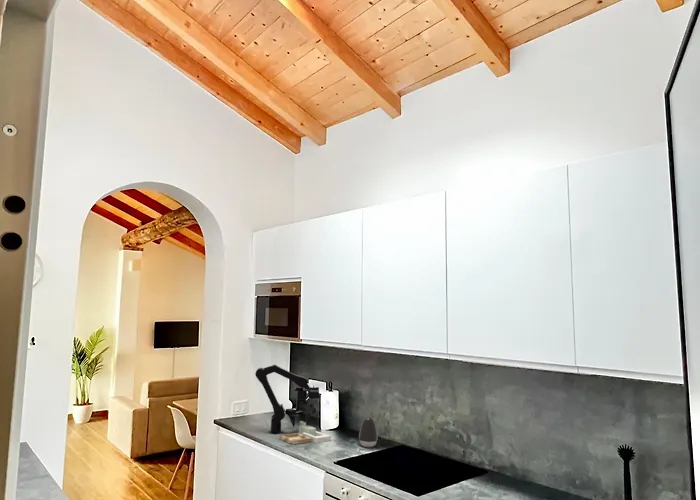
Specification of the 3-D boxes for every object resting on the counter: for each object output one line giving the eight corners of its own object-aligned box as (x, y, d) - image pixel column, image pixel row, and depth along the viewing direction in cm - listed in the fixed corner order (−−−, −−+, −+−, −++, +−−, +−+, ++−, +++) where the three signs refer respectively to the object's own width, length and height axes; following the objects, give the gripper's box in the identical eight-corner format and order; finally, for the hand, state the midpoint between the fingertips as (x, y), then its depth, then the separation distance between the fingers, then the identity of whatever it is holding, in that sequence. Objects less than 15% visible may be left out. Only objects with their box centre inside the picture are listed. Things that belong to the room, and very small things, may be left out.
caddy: (296, 433, 300) (296, 421, 301) (303, 432, 303) (304, 420, 304) (308, 438, 290) (308, 425, 291) (315, 437, 293) (316, 424, 294)
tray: (279, 439, 285) (279, 435, 285) (297, 436, 293) (297, 432, 293) (293, 444, 274) (293, 441, 274) (311, 442, 282) (311, 438, 282)
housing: (301, 437, 291) (302, 432, 291) (315, 435, 297) (316, 430, 297) (316, 443, 280) (316, 438, 280) (330, 440, 286) (330, 436, 287)
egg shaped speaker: (379, 444, 282) (380, 416, 284) (375, 449, 272) (376, 420, 274) (361, 442, 285) (362, 414, 287) (356, 447, 275) (357, 418, 277)
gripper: (295, 402, 292) (294, 430, 290) (322, 399, 303) (321, 426, 301) (285, 399, 300) (283, 426, 298) (311, 396, 312) (310, 423, 310)
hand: (300, 425), depth 302 cm, fingers open, 9 cm apart
